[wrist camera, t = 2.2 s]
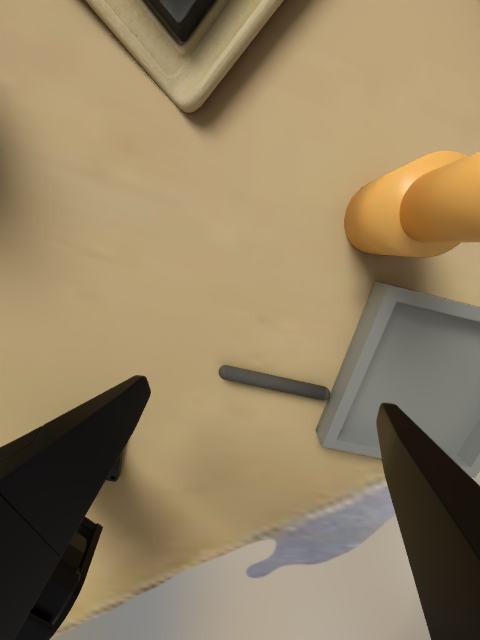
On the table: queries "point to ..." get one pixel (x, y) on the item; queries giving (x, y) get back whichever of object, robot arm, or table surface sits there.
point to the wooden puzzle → (186, 39)
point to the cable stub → (274, 382)
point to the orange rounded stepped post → (418, 207)
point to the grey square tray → (410, 375)
